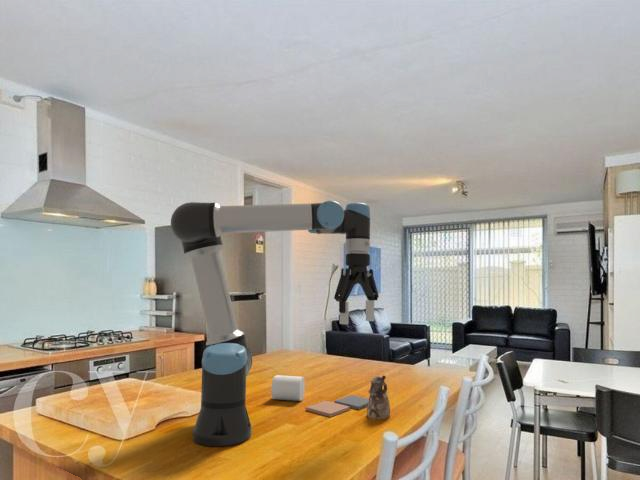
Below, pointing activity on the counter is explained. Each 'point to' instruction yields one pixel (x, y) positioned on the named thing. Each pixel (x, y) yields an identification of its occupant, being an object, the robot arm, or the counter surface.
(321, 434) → the counter surface
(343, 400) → the slate tile
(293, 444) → the counter surface
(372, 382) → the figurine
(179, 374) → the counter surface
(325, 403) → the terracotta tile
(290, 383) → the white rounded block
